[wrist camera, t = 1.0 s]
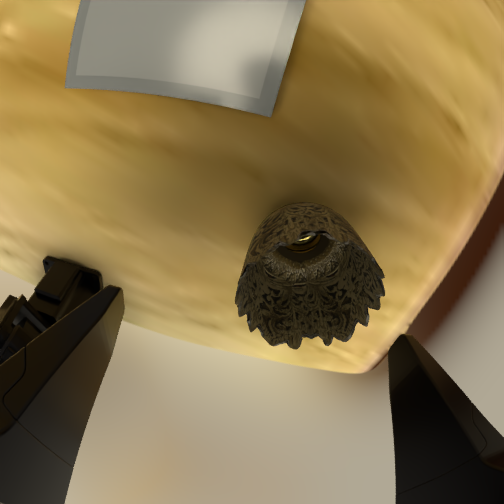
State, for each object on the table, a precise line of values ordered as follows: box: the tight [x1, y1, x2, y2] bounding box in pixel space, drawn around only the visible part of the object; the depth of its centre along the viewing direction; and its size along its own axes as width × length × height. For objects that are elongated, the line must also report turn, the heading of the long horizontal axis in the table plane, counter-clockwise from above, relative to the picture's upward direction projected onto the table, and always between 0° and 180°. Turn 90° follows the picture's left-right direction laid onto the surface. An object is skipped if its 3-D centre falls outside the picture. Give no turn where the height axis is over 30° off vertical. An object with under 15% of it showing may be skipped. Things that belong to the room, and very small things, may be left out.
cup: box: [235, 203, 385, 349], centre depth 17 cm, size 8×7×8 cm
